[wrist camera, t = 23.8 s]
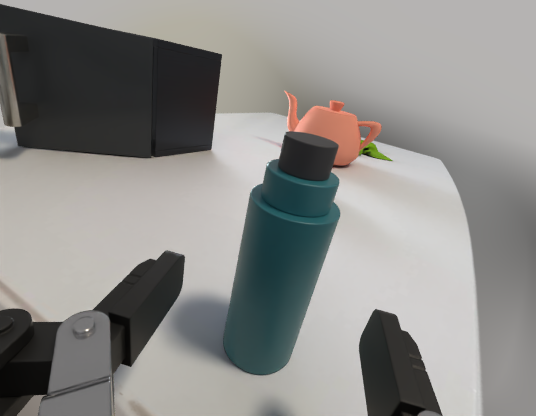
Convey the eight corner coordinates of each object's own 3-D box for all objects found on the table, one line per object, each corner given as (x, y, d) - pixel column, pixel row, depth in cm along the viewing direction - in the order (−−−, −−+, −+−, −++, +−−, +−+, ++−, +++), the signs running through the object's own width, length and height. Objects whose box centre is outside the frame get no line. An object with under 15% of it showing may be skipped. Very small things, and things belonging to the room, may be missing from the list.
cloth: (328, 134, 95) (330, 127, 94) (395, 153, 88) (398, 146, 87) (309, 141, 78) (311, 132, 77) (390, 165, 71) (394, 156, 70)
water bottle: (232, 383, 15) (286, 149, 10) (217, 318, 19) (249, 120, 13) (303, 366, 17) (384, 159, 11) (277, 310, 21) (328, 131, 15)
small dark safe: (155, 157, 44) (158, 38, 37) (99, 129, 51) (93, 25, 44) (211, 149, 53) (222, 54, 46) (157, 126, 60) (160, 41, 53)
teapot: (261, 148, 61) (273, 88, 56) (283, 139, 74) (294, 89, 69) (363, 179, 55) (387, 115, 50) (368, 163, 68) (387, 111, 63)
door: (149, 172, 38) (151, 37, 31) (-5, 161, 32) (-43, -7, 25) (151, 155, 43) (153, 39, 37) (21, 144, 38) (-5, 3, 31)
